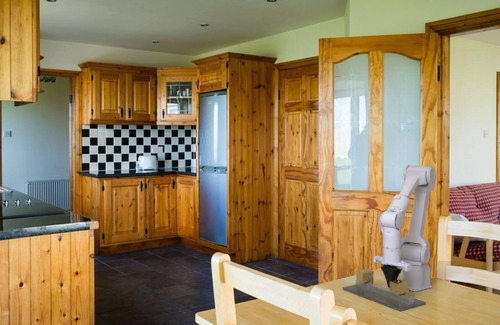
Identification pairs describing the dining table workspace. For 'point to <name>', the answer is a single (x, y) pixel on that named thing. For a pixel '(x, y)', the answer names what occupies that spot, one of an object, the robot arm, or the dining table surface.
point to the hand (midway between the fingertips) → (391, 287)
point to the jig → (381, 293)
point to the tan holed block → (399, 287)
